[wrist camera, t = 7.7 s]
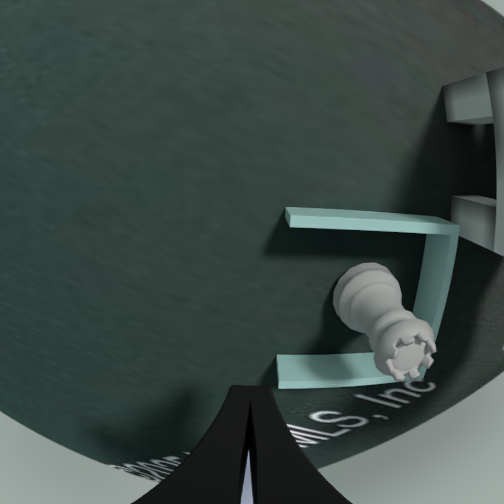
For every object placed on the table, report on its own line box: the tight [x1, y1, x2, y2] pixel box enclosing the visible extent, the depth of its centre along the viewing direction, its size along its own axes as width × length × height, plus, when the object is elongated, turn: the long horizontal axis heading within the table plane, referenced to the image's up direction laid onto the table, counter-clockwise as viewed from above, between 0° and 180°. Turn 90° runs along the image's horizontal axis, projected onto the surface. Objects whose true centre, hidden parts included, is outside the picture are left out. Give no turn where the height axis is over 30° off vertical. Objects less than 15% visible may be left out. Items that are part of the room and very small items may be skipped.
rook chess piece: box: [333, 263, 436, 382], centre depth 16 cm, size 4×4×8 cm
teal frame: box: [276, 207, 460, 389], centre depth 19 cm, size 10×11×3 cm
